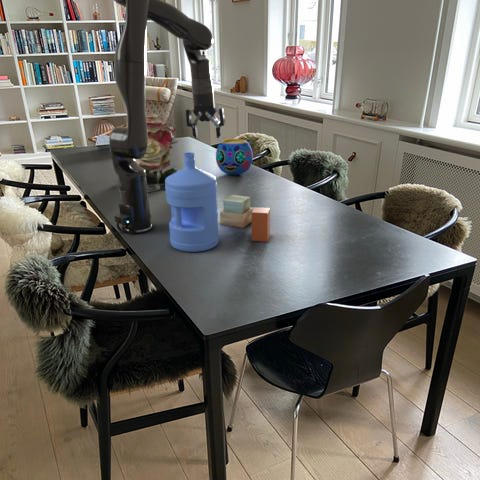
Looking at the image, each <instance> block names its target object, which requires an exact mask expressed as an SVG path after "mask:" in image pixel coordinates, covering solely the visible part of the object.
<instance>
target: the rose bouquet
mask: <svg viewBox="0 0 480 480" xmlns="http://www.w3.org/2000/svg"><path fill="white" fill-rule="evenodd" d="M168 121H169V117H166V119H165V118H164V116H160V115H158V114H156V113H152V112H146V122H147V134H148V146H147V151H146V154H145V156H144V157H143V158H141V159H135V161H136V163H137V164H138V165H139V166H141V167H142V168H143V169H144V170H145V172H146V180H147V190H148V193H151V192H156V191H160V190H165V180H166V178H167V177H168V176H170V175H172V174H174V173H176V172H178V169H175V167H176V165H174V166H172V167H171V168H169V169H166V168H168V167H170V166H171V160H172V156H173V152H174V147H173V146H172V145H174V144H175V145H176V144H178V142H179V140H178V141H177V140H175V136H174V135H173V134H174V133H175V132H177V131H178V130H177V128H176V127H173V126H171V125H167V122H168ZM164 169H166V170H165V171H163V170H164Z"/></svg>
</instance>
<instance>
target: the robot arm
mask: <svg viewBox="0 0 480 480" xmlns="http://www.w3.org/2000/svg"><path fill="white" fill-rule="evenodd" d="M113 2H115V4H118V5H120V6H122V7H124V8H125V20H124V26H123V29H122V32H121V35H120V37H119V39H118V42H117V45H116V48H115V50H114V64H113V65H114V80H115V84H116V88H117V89H118V92H119V94H120V96H121V98H122V101H123V103H124V106H125V110H126V117H127V126H116V127H114V128H113V129H112V130H111V131H110V134H109V139H108V142H109V143H108V144H109V145H108V146H109V151H110V157H111V162H112V166H113V171H114V172H115V175H116V178H117V183H118V191H119V197H120V202H119V203H118V208H119V213H118V214H115V215H114V222H115V223H116V228H117V229H118V231H119V232H122V231H124V232H126V233H129V234H132V235H134V234H142V233H146V232H149V231H150V230H152V229H153V224H152V214H151V208H150V200H149V199H150V198H149V192H148V190H147V180H146V172H145V170H144V169H143V168H142V167H141V166H139V165H138V164H137V163H136V161H135V159H141V158H143V157H144V156H145V154H146V151H147V146H148V134H147V122H146V113H147V110H146V109H147V107H146V106H147V105H146V103H147V102H146V83H147V82H146V81H147V30H148V20H151V21H152V22H153V23H155V24H157V25H158V26H160V27H161V28H162V29H164V30H166V31H167V32H168V33H170V34H171V35H173V36H174V37H176V38H178V39H180V40H182V45H183V49H184V52H185V56H186V58H187V61H188V64H189V67H190V68H189V69H190V78H191V92H192V103H193V108H190V107H188V108H187V109H186V110H185V118H186V119H185V121H186V126H187V127H189V128H191V131H192V137H194V139H198V138H199V135H198V133H199V132H198V126H197V125H198V123H199V122H202V123H203V122H211V123H212V124H213V125H214V126H215V133H216V139H220V137H221V136H222V129H221V127H224V126H225V124H226V118H225V109H224V107H222V106H221V107H219V108H217V107H216V106H215V97H214V84H213V80H212V70H211V69H212V68H211V61H210V60H209V58H207V57H205V56H203V54H202V52H201V51H208V50H209V49H210V48H211V47H212V45H213V44H214V36H213V33H212V31H211V29H210V28H208V26H206V25H205V24H204V23H201V22H200V21H197V20H196V19H193V18H190V17H189V16H187V14H185V13H184V12H183V11H181V10H180V9H179V8H178V7H176V6H175V5H172V4H171V3H168V2H167V1H164V0H113ZM216 113H217V115H218V116H219V119H218V118H217V116H216ZM193 114H194V116H195V119H194V121H193V122H192V115H193ZM120 225H121V227H120Z"/></svg>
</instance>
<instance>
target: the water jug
mask: <svg viewBox="0 0 480 480" xmlns="http://www.w3.org/2000/svg"><path fill="white" fill-rule="evenodd" d="M183 157H184V158H183V162H184V167H183V168H182V169H179V170H177V172H176V173H174V174H172V175H170V176H168V177H167V178H166V180H165V189H164V190H165V194H166V202H167V204H169V205H170V213H171V220H170V221H169V223H168V228H169V244H170V246H172V248H174V249H175V250H178V251H180V252H187V253H197V252H198V253H200V252H204V251H209V250H211V249H213V248H215V247H216V246H217V245H218V244H219V241H220V234H219V209H218V183H217V177H216V176H215V175H214V174H212V173H210V172H208V171H205V170H204V169H200V168H198V167H196V158H195V152H191V151H190V152H189V151H188V152H184V153H183Z"/></svg>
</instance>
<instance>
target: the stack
mask: <svg viewBox="0 0 480 480" xmlns="http://www.w3.org/2000/svg"><path fill="white" fill-rule="evenodd" d="M222 202H223V209H222V210H221V211H219V224H220V225H223V226H229V227H235V228H242V229H244V228H245V227H246V226H247V225H249V224H251V223H252V211H253V209H254V207H251V197H250V196H245V195H238V194H237V195H236V194H231V195H230V196H228V197H227V198H224V199H223V201H222Z"/></svg>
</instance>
